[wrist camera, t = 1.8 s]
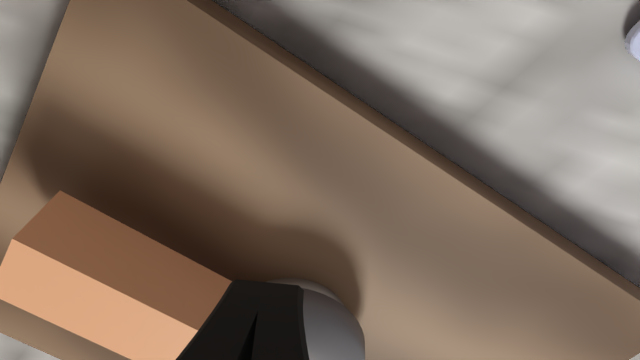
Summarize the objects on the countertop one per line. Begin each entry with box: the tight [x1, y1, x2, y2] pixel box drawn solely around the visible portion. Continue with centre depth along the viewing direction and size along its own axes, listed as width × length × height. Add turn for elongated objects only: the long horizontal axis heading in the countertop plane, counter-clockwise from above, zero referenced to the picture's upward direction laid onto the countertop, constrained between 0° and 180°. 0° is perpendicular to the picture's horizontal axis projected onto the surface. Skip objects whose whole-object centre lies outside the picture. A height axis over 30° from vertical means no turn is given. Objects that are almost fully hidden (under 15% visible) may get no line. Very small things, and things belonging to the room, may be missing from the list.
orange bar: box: [0, 191, 365, 360], centre depth 16 cm, size 12×5×2 cm, turn 56°
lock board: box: [0, 0, 640, 360], centre depth 19 cm, size 17×22×2 cm
